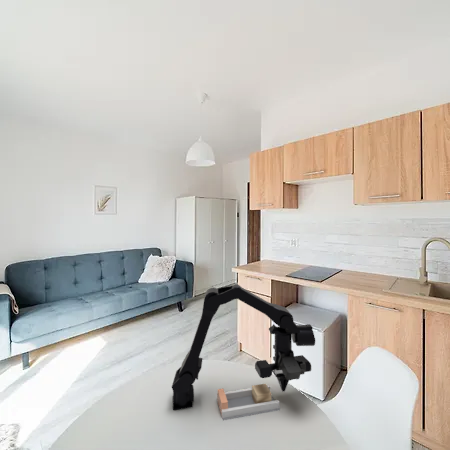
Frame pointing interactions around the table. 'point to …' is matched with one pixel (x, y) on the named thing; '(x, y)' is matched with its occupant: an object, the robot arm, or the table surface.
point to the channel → (242, 404)
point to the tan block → (261, 393)
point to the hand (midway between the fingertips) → (283, 390)
